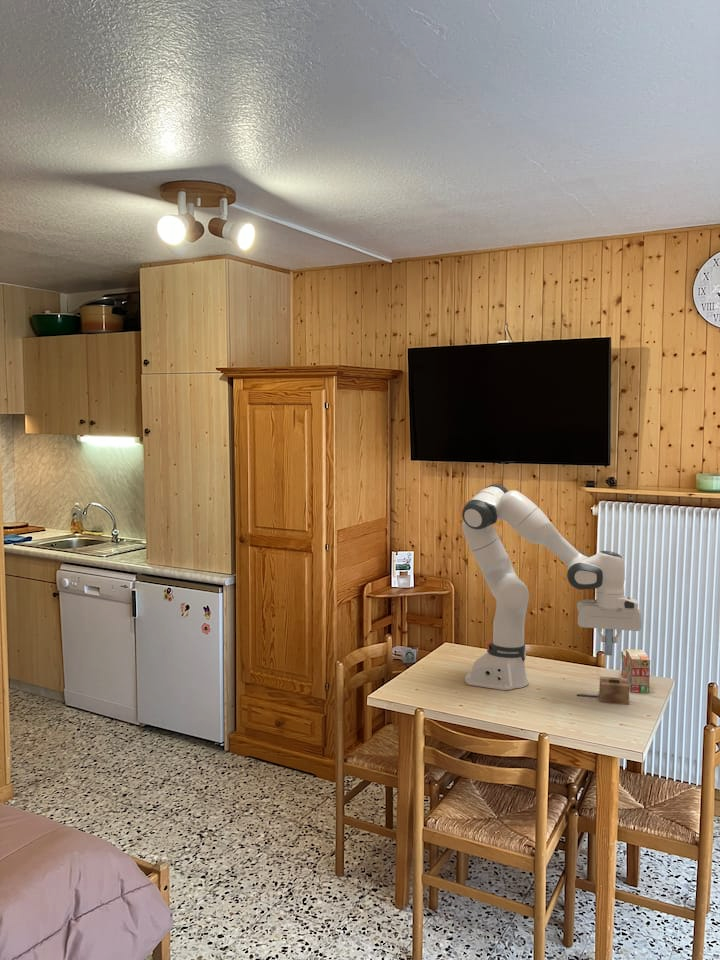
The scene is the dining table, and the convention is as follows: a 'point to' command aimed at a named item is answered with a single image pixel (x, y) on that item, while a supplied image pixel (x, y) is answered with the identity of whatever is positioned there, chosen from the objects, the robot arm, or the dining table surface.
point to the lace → (587, 695)
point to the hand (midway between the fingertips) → (608, 642)
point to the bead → (614, 690)
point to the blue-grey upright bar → (608, 641)
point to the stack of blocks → (636, 670)
